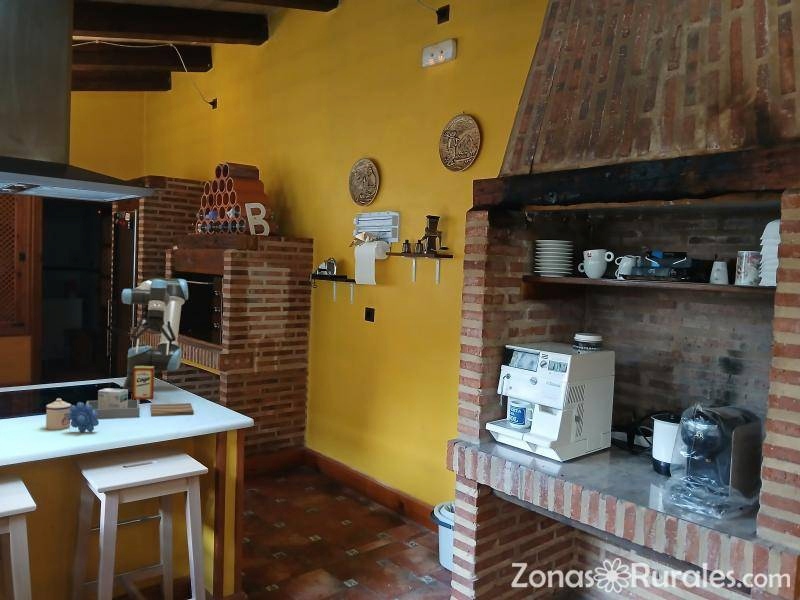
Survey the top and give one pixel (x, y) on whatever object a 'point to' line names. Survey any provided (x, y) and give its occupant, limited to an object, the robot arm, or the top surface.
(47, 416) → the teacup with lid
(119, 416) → the grey bin
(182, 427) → the top surface
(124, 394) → the light bulb box
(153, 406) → the walnut board
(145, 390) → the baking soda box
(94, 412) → the grapes
